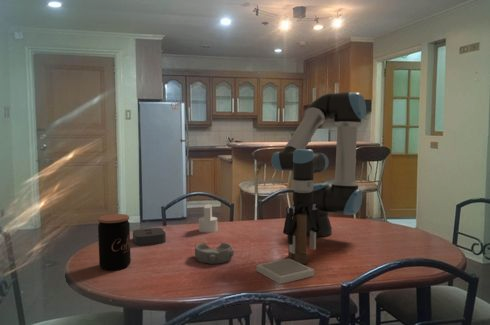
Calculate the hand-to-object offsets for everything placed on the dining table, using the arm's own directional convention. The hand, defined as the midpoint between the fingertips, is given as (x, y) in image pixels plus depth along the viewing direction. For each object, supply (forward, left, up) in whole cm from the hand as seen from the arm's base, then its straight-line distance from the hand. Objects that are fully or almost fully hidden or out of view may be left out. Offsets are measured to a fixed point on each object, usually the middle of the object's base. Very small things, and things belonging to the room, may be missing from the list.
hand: (302, 250), depth 152 cm
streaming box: (-54, -42, -4) cm, 68 cm away
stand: (+8, -14, -3) cm, 16 cm away
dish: (-18, -28, -4) cm, 34 cm away
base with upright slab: (-57, -12, -4) cm, 58 cm away
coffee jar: (-29, -62, -4) cm, 69 cm away
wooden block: (-1, -2, -4) cm, 4 cm away
